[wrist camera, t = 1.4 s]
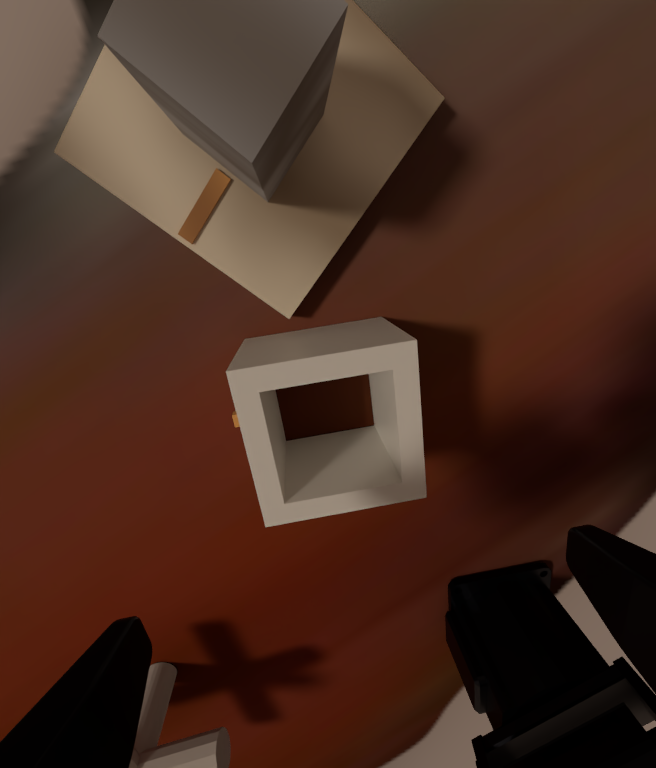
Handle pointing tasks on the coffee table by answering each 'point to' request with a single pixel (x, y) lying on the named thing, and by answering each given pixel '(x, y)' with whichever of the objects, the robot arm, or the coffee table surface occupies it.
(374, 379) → the square tube segment
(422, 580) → the coffee table surface
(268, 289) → the square peg base
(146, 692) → the pipe connector
